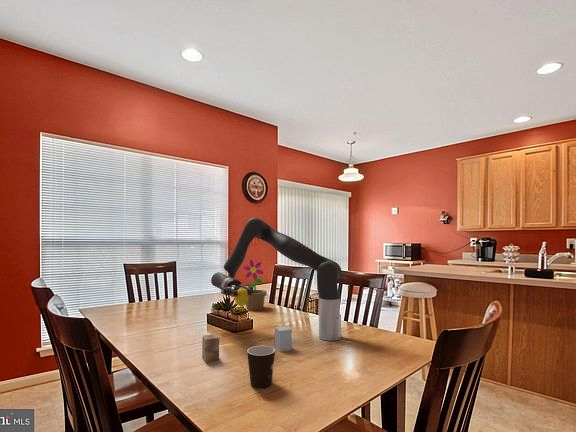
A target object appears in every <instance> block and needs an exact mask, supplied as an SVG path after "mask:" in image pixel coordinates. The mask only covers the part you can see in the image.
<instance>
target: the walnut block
mask: <svg viewBox="0 0 576 432" xmlns="http://www.w3.org/2000/svg"><path fill="white" fill-rule="evenodd" d="M201 340H202V343H201V344H202V345H201V347H202V348H201V349H202V350H201V351H202V353H201V355H202V356H201V357H202V360H203V361H204V363H210V362H218V361H220V336H219V335H218V333H213V334H205V335H202V339H201Z"/></svg>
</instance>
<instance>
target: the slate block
mask: <svg viewBox="0 0 576 432" xmlns="http://www.w3.org/2000/svg"><path fill="white" fill-rule="evenodd" d="M292 334H293V332H292V328H290V327H288V326H287V325H283V326H277V327H274V348H275V350H277V351H278V352H280V353H281V352H282V353H283V352H287V351H292V350H293V349H292V344H293V342H292V340H293V338H292V337H293V335H292Z"/></svg>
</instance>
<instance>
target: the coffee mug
mask: <svg viewBox="0 0 576 432" xmlns="http://www.w3.org/2000/svg"><path fill="white" fill-rule="evenodd" d="M246 352H247V353H246V354H247V361H248V374H249V381H250V386H251V388H254V389H261V390H264V389H267V388H269V387H271V386H272V383H273V382H272V381H273V373H274V364H275V356H276V348H275V347H273V346H269V345H265V344H264V345H255V346H250V347H249V348H248V349H247V350H246Z"/></svg>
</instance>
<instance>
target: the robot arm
mask: <svg viewBox="0 0 576 432" xmlns="http://www.w3.org/2000/svg"><path fill="white" fill-rule="evenodd" d="M254 239H259V240H261V241H263V242H265V243H268V244H270V246H272V247H273V248H274V249H275V250H277V252H279V253H280V254H281V255H282V256H284V257H286V258H287V259H289V260H290V261H293V262H295V263H298V264H299V265H303V266H307V267H309V268H311V269H313V270H314V271H316V288H317V289H316V290H317V294H318V337H319V339H320V340H324V341H329V342H330V341H331V342H332V341H340V339H341V338H342V315H341V301H340V300H341V293H340V291H339V288H338V286H339V285H338V280H339V279H340V277H341V276H342V272H343V271H342V268H341V265H340V264H339V263H338V262H336V261H334V260H332V259H329V258H327V257H325V256H323V255H321V254H319V253H318V252H316V251H314V250H313V249H311V248H310V247H308V246H306V245H305V244H303V243H301V242H300V241H299V240H297V239H295V238H293V237H291V236H289V235H288V234H284V233H282V232H279V231H278V230H276V229H275V228H273V227H272V226H271V225H269V224H268V223H267V222H266V221H264V220H262V219H260V218H258V217H251V218H249V220H247V222H246V223H245V225H244V227H243V229H242V232H241V234H240V236H239V238H238V240H237V243H236V245H235V247H234V249H233V250H232V252H231V253H230V254H229V255H230V256H229V257H228V258H227V260H226V262H225V263H224V265H223V270H224V271H225V272H226V273H228V275H226V274H224V273H223V272H219V271H218V272H216V273H214V274H213V275H212V277H211V280H210V283H211V285H212V286H213V287H215V288H217V289H220V294H222V295H224V296H229V297H232V298H235V297H236V296H238V292H237V290H238V289H240V288H241V287H243V288H244V289H246V290H247V292H248V295H252V293H253V290H254V287H253V286H252V285H250V284H248V285H249V286H248V285H245V284H243V283H242V282H241V280H239V279H236V278H235V277H236V275H237V272H238V271H239V269H240V268H241V266H242V264H243V262H244V261H245V259H246V255H247V251H248V249H249V246H250V244H251V243H252V242H253V240H254Z"/></svg>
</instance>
